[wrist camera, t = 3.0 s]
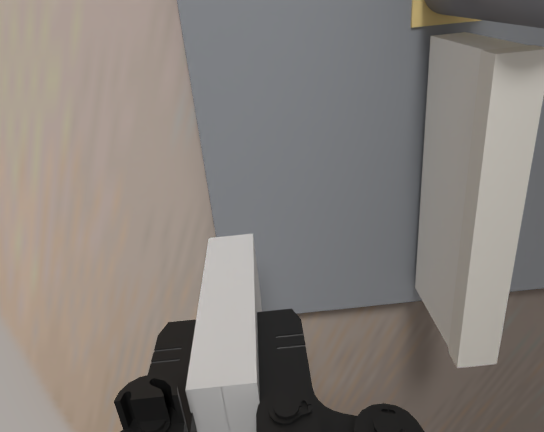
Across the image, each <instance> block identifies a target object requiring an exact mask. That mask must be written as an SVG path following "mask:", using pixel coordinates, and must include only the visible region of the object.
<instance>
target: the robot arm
mask: <svg viewBox="0 0 544 432" xmlns="http://www.w3.org/2000/svg"><path fill="white" fill-rule="evenodd" d="M154 350H155V352H154V353H153V357H152V361H151V362H152V364H151V365H150V369H149V372H148V375H147V376H143V377H139V378H137V379H136V380H134V381H132V382H130V383H128V384H127V385H126V386H125V387H124V388H123V389H122V390H121V391H120V392H119V393H118V395H117V397H116V399H115V401H114V403H115V406H116V409H117V412H118V415H119V418H120V421H121V424H122V427H123V430H122V431H121V432H424V430H423V429H422V427H421V426H420V425H419V423H418V422H417V420H416V419H415V418H414V417H413V416H412V415H411V414H410V413H409V412H408V411H406V410H404V409H402V408H400V407H398V406H395V405H390V404H384V403H383V404H376V405H371V406H369V407H367V408H366V409H364V410H362V411H361V412H360V414H359V415H358V416H354V415H348V414H343V413H339V412H336V411H333V410H331V409H329V408H327V407H325V406H324V405H323V404H322V403H321V402H320V401H319V400H318V399H317V397H316V396H315V394H314V391H313V388H312V383H311V377H310V371H309V365H308V359H307V353H306V347H305V341H304V336H303V329H302V323H301V319H300V318H299V316H298V315H297V314H296V313H295V312H294V311H293V309H292V308H291V309H282V310H272V311H263V312H262V308H261V294H260V286H259V278H258V270H257V262H256V254H255V246H254V238H253V234H243V235H234V236H224V237H214V238H209V240H208V246H207V253H206V259H205V266H204V272H203V279H202V285H201V292H200V298H199V305H198V311H197V318H196V320H187V321H177V322H168V324H167V325H166V326H165V327H164V329H163V330H162V331H161V332H160V334H159V335H158V338H157V341H156V345H155V349H154Z"/></svg>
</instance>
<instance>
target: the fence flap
mask: <svg viewBox="0 0 544 432" xmlns="http://www.w3.org/2000/svg"><path fill="white" fill-rule="evenodd" d="M543 96H544V47H541V46H536V45H526V44H521V43H516V42H511V41H506V40H501V39H496V38H491V37H486V36H482V35H477V34H472V33H467V32H462V33H453V34H443V35H433V36H431V37H430V53H429V69H428V86H427V102H426V118H425V134H424V151H423V167H422V183H421V199H420V216H419V232H418V248H417V264H416V281H415V288H416V290H417V292H418V294H419V296H420V297H421V299H422V301H423V303H424V305H425V306H426V308H427V310H428V312H429V314H430V315H431V317H432V319H433V321H434V322H435V324H436V326H437V328H438V330H439V331H440V333H441V335H442V337H443V339H444V340H445V342H446V344H447V346H448V353H449V355H450V356H451V358H452V360H453V362H454V364H455V365H456V367H457V368H463V367H473V366H483V365H492V364H497V359H498V354H499V348H500V342H501V336H502V331H503V325H504V319H505V314H506V308H507V302H508V296H509V291H510V285H511V279H512V274H513V268H514V262H515V256H516V251H517V245H518V239H519V233H520V228H521V222H522V216H523V211H524V205H525V199H526V193H527V188H528V182H529V176H530V170H531V165H532V159H533V153H534V148H535V142H536V136H537V130H538V125H539V119H540V113H541V107H542V102H543Z"/></svg>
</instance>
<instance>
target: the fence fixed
mask: <svg viewBox="0 0 544 432" xmlns="http://www.w3.org/2000/svg"><path fill="white" fill-rule="evenodd" d="M424 1H425V3H426V5H427V6H428V7H429V8H430V9H431V10H432V11H433V12H435V13H438V14H442V15H449V16H457V17H464V18H471V19H478V20H485V21H493V22H500V23H507V24H514V25H521V26H529V27H536V28H543V29H544V0H424Z"/></svg>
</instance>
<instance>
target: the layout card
mask: <svg viewBox="0 0 544 432" xmlns="http://www.w3.org/2000/svg"><path fill="white" fill-rule="evenodd" d="M177 3H178V9H179V15H180V21H181V27H182V33H183V39H184V45H185V51H186V58H187V64H188V70H189V76H190V82H191V88H192V94H193V100H194V106H195V112H196V118H197V124H198V130H199V136H200V142H201V148H202V154H203V160H204V166H205V172H206V178H207V184H208V191H209V197H210V203H211V209H212V215H213V221H214V227H215V233H216V237H224V236H234V235H243V234H253V238H254V246H255V254H256V262H257V270H258V278H259V286H260V294H261V308H262V312H263V311H272V310H282V309H291V308H292V309H293V311H294V312H295V313H296V314H297V313H307V312H316V311H326V310H336V309H346V308H356V307H365V306H375V305H385V304H395V303H404V302H414V301H422V299H421V297H420V296H419V294H418V292H417V290H416V288H415V281H416V264H417V248H418V232H419V216H420V199H421V183H422V167H423V151H424V134H425V118H426V102H427V86H428V69H429V53H430V37H431V36H433V35H443V34H453V33H462V32H467V33H472V34H477V35H482V36H486V37H491V38H496V39H501V40H506V41H511V42H516V43H521V44H526V45H536V46H541V47H544V29H543V28H536V27H529V26H521V25H514V24H507V23H500V22H493V21H485V20H478V19H471V18H464V17H457V16H449V15H442V14H438V13H435V12H433V11H432V10H431V9H430V8H429V7H428V6H427V5H426V3H425V1H424V0H177ZM541 288H544V96H543V102H542V107H541V113H540V119H539V125H538V130H537V136H536V142H535V148H534V153H533V159H532V165H531V170H530V176H529V182H528V188H527V193H526V199H525V205H524V211H523V216H522V222H521V228H520V233H519V239H518V245H517V251H516V256H515V262H514V268H513V274H512V279H511V285H510V291H509V292H512V291H521V290H531V289H541Z"/></svg>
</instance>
